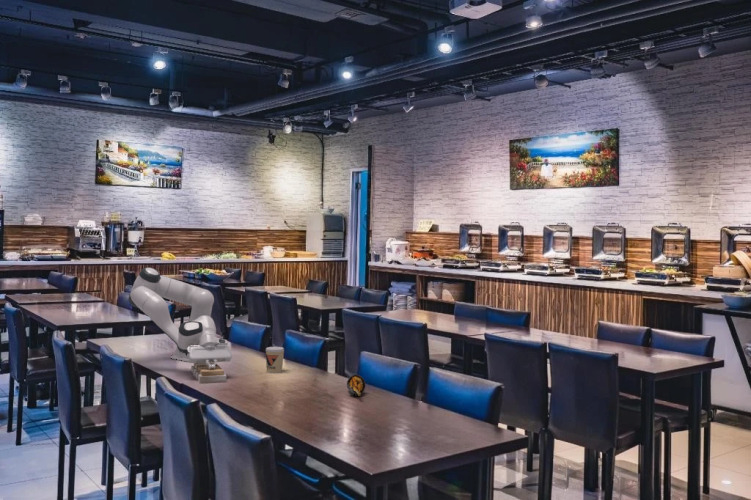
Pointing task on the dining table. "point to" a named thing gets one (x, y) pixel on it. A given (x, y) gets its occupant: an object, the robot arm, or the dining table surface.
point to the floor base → (206, 378)
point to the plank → (210, 371)
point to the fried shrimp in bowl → (356, 385)
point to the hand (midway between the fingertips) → (212, 368)
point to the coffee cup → (274, 359)
